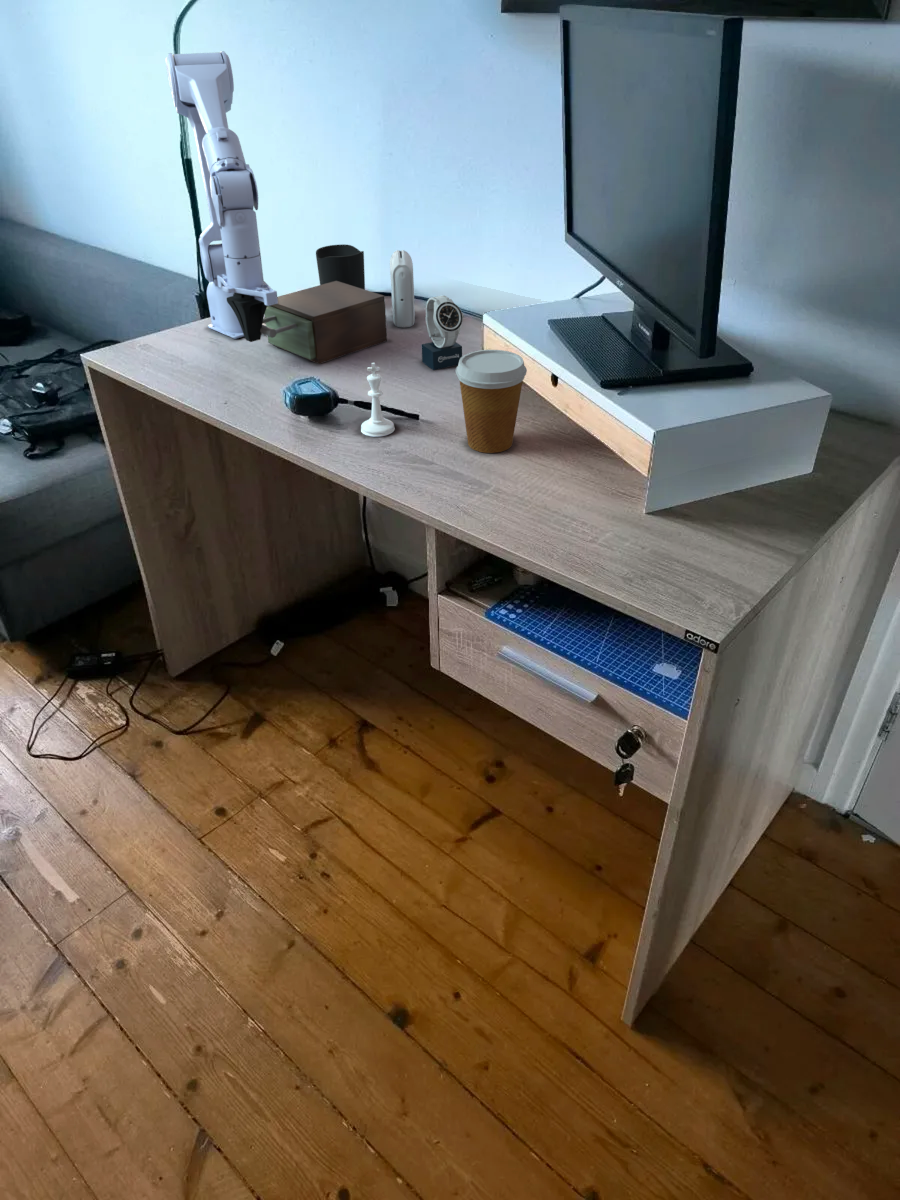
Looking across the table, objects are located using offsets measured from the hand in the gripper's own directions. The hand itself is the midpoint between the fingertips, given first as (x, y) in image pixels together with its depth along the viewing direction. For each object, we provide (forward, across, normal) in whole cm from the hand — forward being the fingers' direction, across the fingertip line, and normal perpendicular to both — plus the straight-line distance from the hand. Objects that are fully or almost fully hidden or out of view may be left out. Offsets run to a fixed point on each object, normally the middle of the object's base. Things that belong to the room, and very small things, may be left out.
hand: (253, 339), depth 143 cm
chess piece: (+5, +34, -2) cm, 34 cm away
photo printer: (+4, 0, +34) cm, 34 cm away
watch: (+4, +22, +23) cm, 32 cm away
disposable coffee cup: (+5, +49, +7) cm, 50 cm away
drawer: (+3, 0, +11) cm, 12 cm away
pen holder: (+4, -18, +33) cm, 37 cm away
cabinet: (+4, 0, +16) cm, 16 cm away
